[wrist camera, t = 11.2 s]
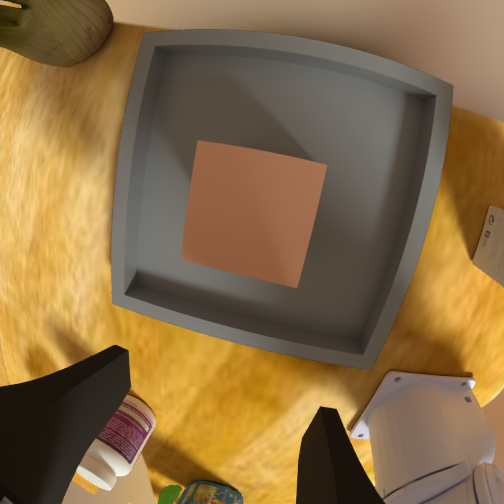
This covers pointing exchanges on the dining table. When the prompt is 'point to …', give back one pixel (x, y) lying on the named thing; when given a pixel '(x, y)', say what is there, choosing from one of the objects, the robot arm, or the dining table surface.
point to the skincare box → (492, 246)
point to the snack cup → (200, 494)
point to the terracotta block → (251, 211)
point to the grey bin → (290, 144)
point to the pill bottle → (118, 444)
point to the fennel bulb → (55, 29)
